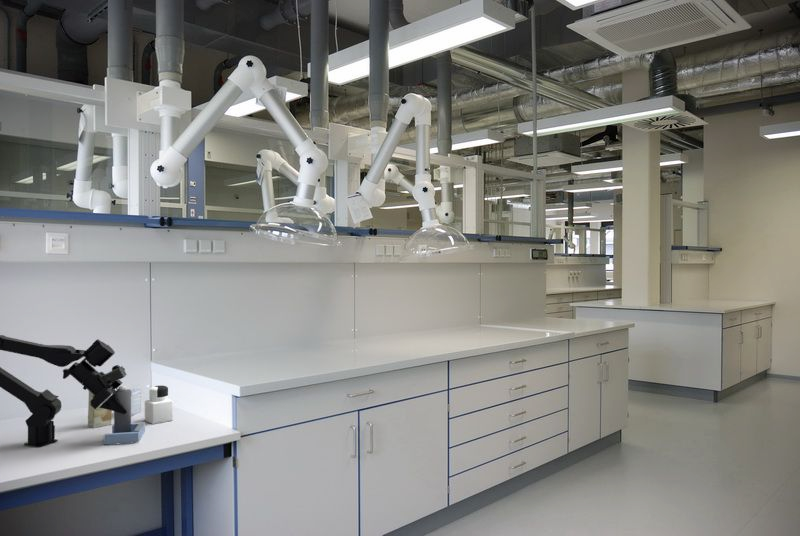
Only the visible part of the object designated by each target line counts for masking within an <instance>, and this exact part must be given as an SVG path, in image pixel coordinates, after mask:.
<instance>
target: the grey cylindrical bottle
mask: <svg viewBox="0 0 800 536" xmlns="http://www.w3.org/2000/svg"><path fill="white" fill-rule="evenodd" d="M118 389H119V390H116V391H114V393H115V392H116V398H117V399H118V401H119V402H120V403H121V404H122V405H123V407H124V408H125V409H126V411H127V413H126V414H122V413H118V412H115V411H113V413H114V414H113V424H114V433H125V432H131V423H132V416H131V390H130V389H131V388H129V389H128V386H127V385H123V386H122V385H120V386H119V387H118Z"/></svg>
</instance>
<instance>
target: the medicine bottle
mask: <svg viewBox="0 0 800 536" xmlns="http://www.w3.org/2000/svg"><path fill="white" fill-rule="evenodd" d="M148 393H149V399H145V400H144V421H146V422H147V423H150V424H152V425H155V424H161V423H166V422H171V421H173V420H174V410H173V409H174V406H173V405H174V401H173V400H172V399H170V398H169V387H168V386H166V385H154V386H151V387H149V392H148Z"/></svg>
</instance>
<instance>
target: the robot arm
mask: <svg viewBox="0 0 800 536" xmlns="http://www.w3.org/2000/svg"><path fill="white" fill-rule="evenodd" d="M0 351H3V352H9V353H14V354H18V355H23V356H28V357H33V358H38V359H41V360H43V361H44V362H47V363H49V364H51V365H53V366H56V367H59V368H64V369H63V370H62V373H63V375H62V379H63V380H64V379H67V378H68V377H70V376H72V378H73V379H75V380H76V381H77V382H78V383H79V384H81V385H82V389H83V390H84V391H87V390H88V392H89V391H90V392H91V393H92V394H93V395H94V396H93V399H92V400H91V402H90V405H91V406H92V407H93V408H94V409H96V408H97V407H98V406H99V405H100V404H101V403H102V405H101V406H100V407H99V408H104V409H108V410H111V411H112V412H114V411H115V412H118V413H122V414H126V413H127V411H126V409H125V408H124V407H123V405H122V404H121V403H120V402H119V401H118V399H117V398H116V392H115V393H114V391H116V390H119V387H121V386H122V384H123V382H122V379H123V378H125V377H126V376H127V373H126V368H125V367H124V366H122V365H121V366H120V365H118V364H116V365H113V366H112V367H111V370H110V371H108V372H107V373H104V372H103V371H98V370H97V369H96V367H102V366H103V365H104V364H105V363H106V362H107V361H108V360H109V359H111V357H113V356H114V355H115V353H116V352H115V350H114V349H113V348H112V347H111V346H110V345H109V344H107V343H105V342H103V341H101V340H100V339H96V340H94V342H93V343H92V344H91V345H90V346H89V347H88V348H87V349H86V350H84V349H77V348H75V347H74V346H72V345H64V344H52V345H51V344H42V343H37V342H33V341H28V340H23V339H19V338H13V337H10V336H6V335H3V334H0ZM81 359H82V360H81ZM79 360H81V361H80V362H78V361H79ZM72 363H73V364H72ZM70 364H72V365H71V366H69V365H70ZM67 366H69V368H65V367H67ZM0 388H1V389H2V390H4V391H5V392H7V393H8V394H10V395H11V396H12V397H15V398H16V399H18V400H19V401H21V402H22V403H23V404H24V405H25V406H26V407H27V409H28V411H29V412H30V413H31V415H30V416H29V417H28V418H27V419H26V420H25V424H26V426H27V441H26V442H24V443H23V445H24V446H29V447H35V448H41V447H44V446H47V445H51V444H53V443H57V442H58V439H55V437H56V433H55V432H56V429H55V427H56V426H55V424H54V423H55V421H54V419H55V417H56V416H57V415H58V414H59V413H60V411H61V409H62V402H61V400H60V398H59V395H55V394H54V393H52V392H51V391H50V390H49V389H45V390H44V391H38V390H36V389H34V388H33V387H31V386H30V385H28V384H27V383H26V382H23V381H22V380H21V379H19V378H17V377H16V376H15V375H13V374H12V373H10V372H8V370H5V369H4V368H2V367H1V366H0Z"/></svg>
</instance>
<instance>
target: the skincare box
mask: <svg viewBox="0 0 800 536" xmlns="http://www.w3.org/2000/svg"><path fill="white" fill-rule="evenodd" d="M93 396H94V395H93V394H92V393H91V392H90V391H89V390H88V400H87V401H88V403H87V405H88V410H87V426H88V427H90V428H93V429H96V428H99V427H104V426H105V425H106V426H110V424H111V425H112V418H113V417H112V415H113V414H112V412H113V411H111V410H108V409H104V408H99V407H100V406H101V405H102V403H101V404H100V405H99V406H98V407H97V408H96V409H94V408H93V407H92V406H91V405H90V402H91V400H92V399H93Z"/></svg>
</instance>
